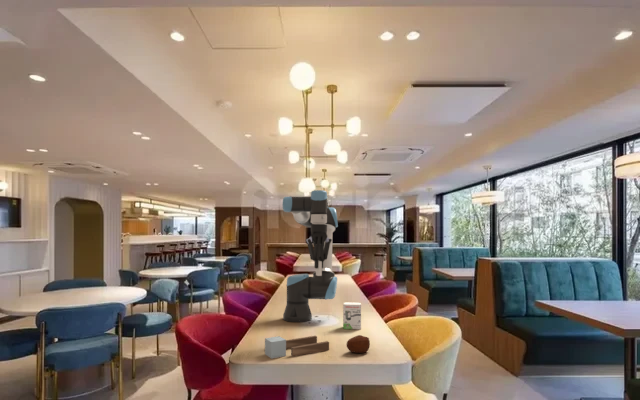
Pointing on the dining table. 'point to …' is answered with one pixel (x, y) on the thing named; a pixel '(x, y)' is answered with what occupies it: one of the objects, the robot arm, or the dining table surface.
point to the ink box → (351, 315)
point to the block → (275, 347)
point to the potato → (358, 344)
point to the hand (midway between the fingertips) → (318, 275)
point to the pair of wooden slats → (306, 345)
